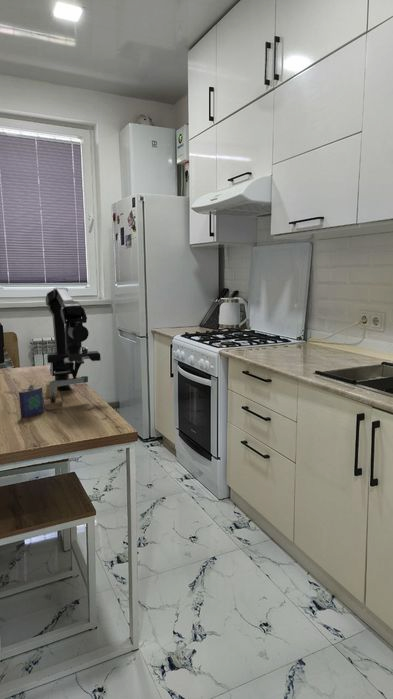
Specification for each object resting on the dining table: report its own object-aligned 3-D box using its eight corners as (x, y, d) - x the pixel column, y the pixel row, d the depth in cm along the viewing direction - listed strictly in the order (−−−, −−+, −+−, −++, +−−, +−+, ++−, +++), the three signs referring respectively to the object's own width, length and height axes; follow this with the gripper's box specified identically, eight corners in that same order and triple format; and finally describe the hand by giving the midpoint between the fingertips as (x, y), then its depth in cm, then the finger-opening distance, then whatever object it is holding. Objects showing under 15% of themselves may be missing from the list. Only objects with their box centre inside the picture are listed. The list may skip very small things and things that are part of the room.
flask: (40, 410, 159) (38, 381, 157) (46, 412, 157) (44, 381, 156) (19, 418, 151) (16, 386, 149) (25, 419, 149) (23, 387, 148)
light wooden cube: (45, 393, 174) (45, 381, 173) (56, 393, 175) (56, 380, 174) (46, 397, 168) (45, 384, 168) (57, 396, 170) (57, 383, 169)
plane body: (43, 396, 178) (42, 384, 177) (59, 395, 180) (58, 383, 179) (44, 409, 160) (43, 395, 159) (62, 407, 162) (61, 394, 161)
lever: (86, 393, 172) (86, 375, 171) (89, 395, 170) (89, 376, 169) (49, 400, 163) (48, 381, 162) (51, 402, 161) (50, 382, 160)
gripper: (47, 342, 156) (48, 386, 158) (102, 340, 162) (103, 383, 164) (46, 337, 166) (47, 379, 169) (98, 336, 172) (98, 376, 175)
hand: (74, 379), depth 169 cm, fingers closed
